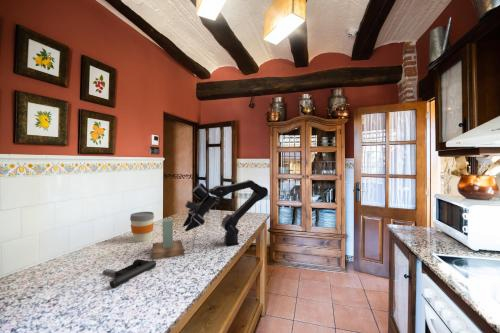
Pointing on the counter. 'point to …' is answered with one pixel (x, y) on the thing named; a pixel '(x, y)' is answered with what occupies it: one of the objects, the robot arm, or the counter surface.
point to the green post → (167, 233)
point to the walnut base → (167, 250)
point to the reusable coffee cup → (142, 226)
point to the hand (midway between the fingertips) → (184, 228)
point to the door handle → (129, 272)
